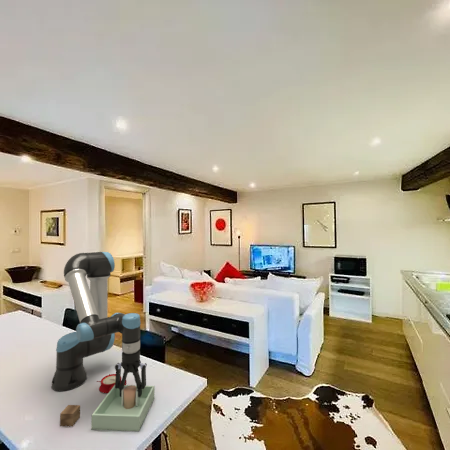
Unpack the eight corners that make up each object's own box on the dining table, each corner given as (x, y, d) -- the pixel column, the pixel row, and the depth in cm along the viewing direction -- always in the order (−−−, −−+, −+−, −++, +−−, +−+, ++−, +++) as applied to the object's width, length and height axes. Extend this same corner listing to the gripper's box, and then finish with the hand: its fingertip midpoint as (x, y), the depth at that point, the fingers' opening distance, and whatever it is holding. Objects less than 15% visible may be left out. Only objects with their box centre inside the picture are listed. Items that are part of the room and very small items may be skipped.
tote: (91, 429, 100) (91, 415, 100) (114, 397, 119) (114, 384, 119) (138, 431, 99) (139, 416, 99) (154, 398, 119) (154, 385, 119)
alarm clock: (111, 371, 134) (131, 372, 128) (113, 383, 134) (133, 385, 127) (93, 381, 125) (113, 383, 118) (94, 395, 125) (115, 397, 118)
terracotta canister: (121, 408, 111) (122, 392, 111) (126, 401, 116) (126, 385, 116) (133, 409, 110) (133, 392, 111) (137, 401, 115) (137, 385, 116)
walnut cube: (59, 426, 101) (60, 413, 101) (68, 417, 106) (68, 404, 106) (72, 426, 101) (72, 413, 101) (79, 417, 106) (80, 405, 106)
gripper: (106, 354, 111) (105, 409, 110) (149, 354, 110) (148, 410, 109) (114, 346, 118) (113, 398, 117) (154, 346, 118) (154, 398, 117)
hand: (130, 403), depth 113 cm, fingers open, 5 cm apart
